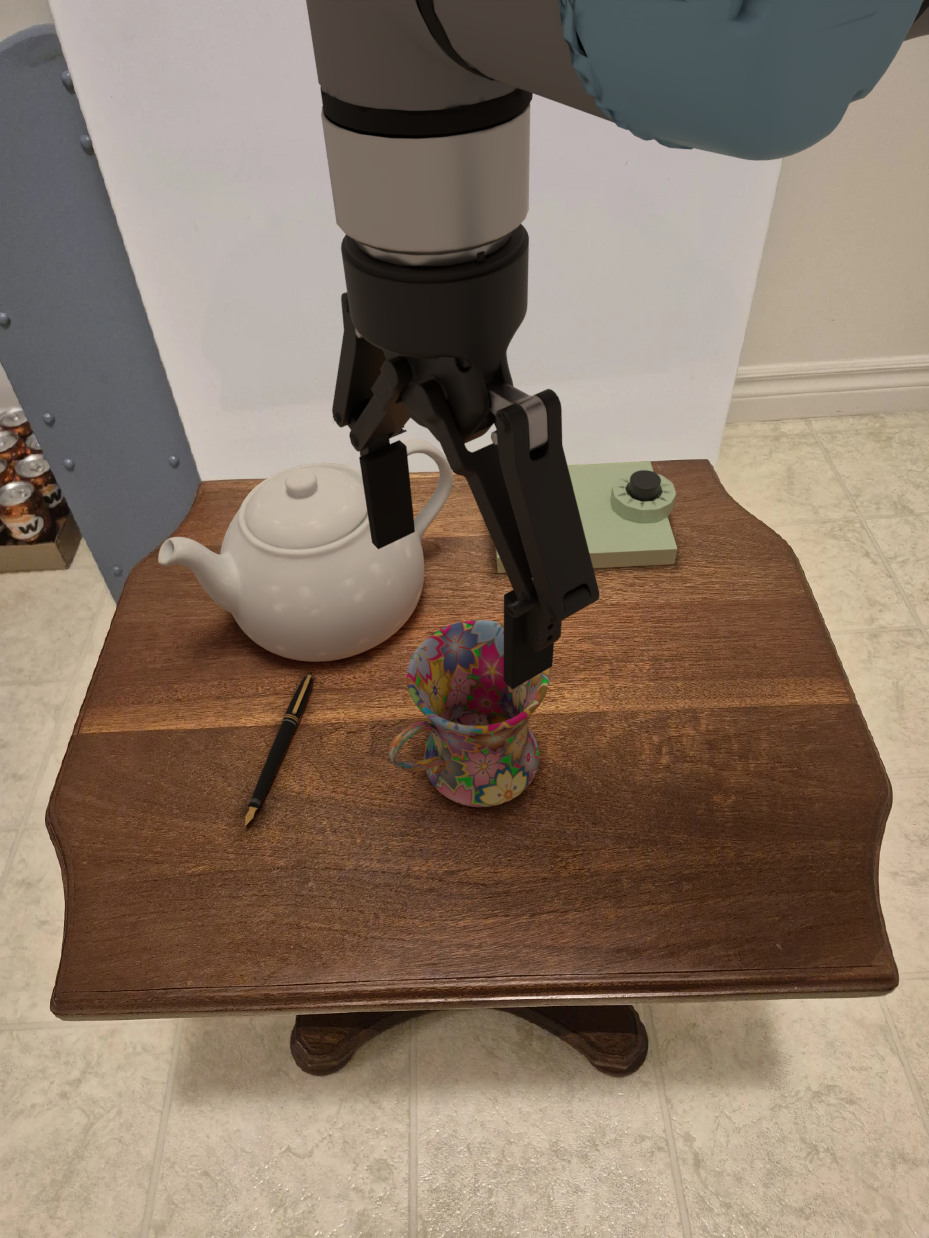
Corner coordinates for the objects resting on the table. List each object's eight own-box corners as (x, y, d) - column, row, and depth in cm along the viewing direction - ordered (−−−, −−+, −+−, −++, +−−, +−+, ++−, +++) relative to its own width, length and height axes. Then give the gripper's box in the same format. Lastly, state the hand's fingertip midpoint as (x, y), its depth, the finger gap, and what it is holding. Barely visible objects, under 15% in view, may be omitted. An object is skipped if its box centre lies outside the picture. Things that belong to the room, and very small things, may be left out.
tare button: (655, 482, 79) (657, 469, 78) (661, 501, 77) (663, 487, 76) (625, 484, 79) (627, 470, 78) (631, 502, 77) (632, 489, 76)
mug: (488, 692, 67) (486, 599, 59) (570, 768, 62) (579, 676, 54) (364, 777, 62) (343, 687, 54) (442, 867, 57) (432, 781, 49)
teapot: (403, 694, 67) (386, 570, 57) (192, 658, 70) (140, 535, 61) (459, 541, 79) (452, 416, 69) (276, 516, 83) (245, 395, 73)
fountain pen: (254, 834, 59) (249, 823, 58) (238, 831, 59) (233, 820, 58) (319, 677, 69) (316, 665, 68) (305, 675, 69) (302, 663, 68)
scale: (656, 475, 85) (661, 446, 83) (683, 563, 76) (690, 534, 74) (489, 484, 85) (488, 455, 83) (497, 573, 76) (497, 544, 74)
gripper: (741, 317, 28) (654, 708, 43) (357, 124, 42) (396, 470, 57) (563, 396, 25) (539, 783, 40) (217, 160, 39) (298, 514, 55)
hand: (455, 600), depth 49 cm, fingers open, 13 cm apart
